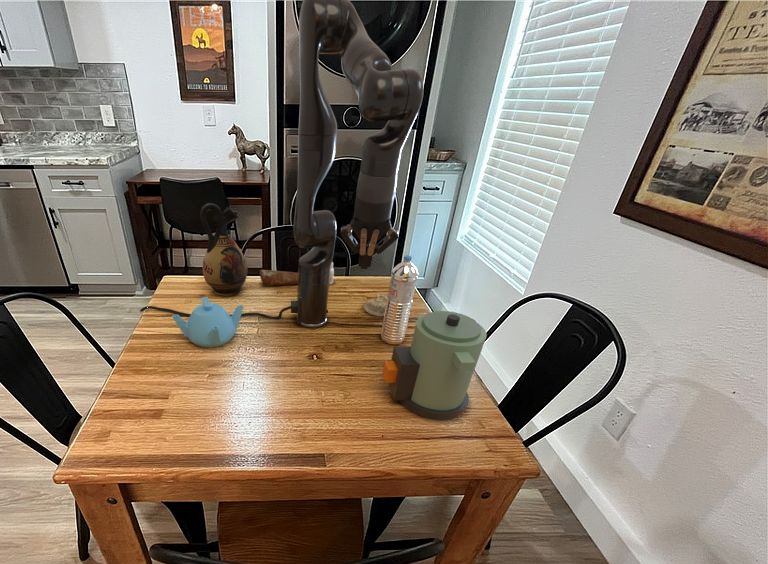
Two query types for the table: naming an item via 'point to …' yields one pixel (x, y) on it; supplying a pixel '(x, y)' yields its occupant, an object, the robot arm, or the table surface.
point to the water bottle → (399, 302)
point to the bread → (278, 277)
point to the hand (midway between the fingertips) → (363, 267)
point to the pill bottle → (331, 274)
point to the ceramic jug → (222, 254)
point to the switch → (390, 371)
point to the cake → (376, 305)
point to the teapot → (209, 324)
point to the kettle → (438, 365)
